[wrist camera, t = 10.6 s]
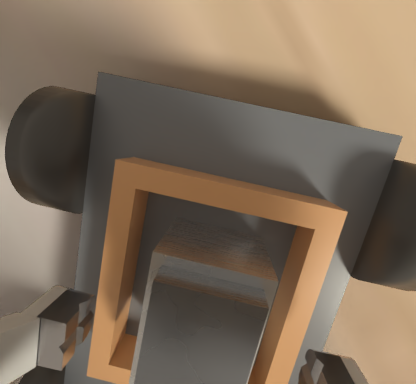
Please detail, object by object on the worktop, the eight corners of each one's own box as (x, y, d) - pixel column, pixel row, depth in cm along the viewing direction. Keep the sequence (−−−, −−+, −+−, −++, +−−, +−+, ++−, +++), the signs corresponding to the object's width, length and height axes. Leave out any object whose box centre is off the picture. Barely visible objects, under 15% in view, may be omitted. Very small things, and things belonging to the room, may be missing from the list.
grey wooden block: (234, 337, 13) (237, 449, 8) (156, 318, 13) (115, 417, 9) (262, 237, 12) (286, 300, 7) (176, 217, 12) (142, 266, 7)
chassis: (281, 450, 19) (306, 588, 13) (62, 393, 20) (-9, 500, 14) (394, 145, 14) (515, 146, 8) (96, 82, 15) (9, 40, 9)
